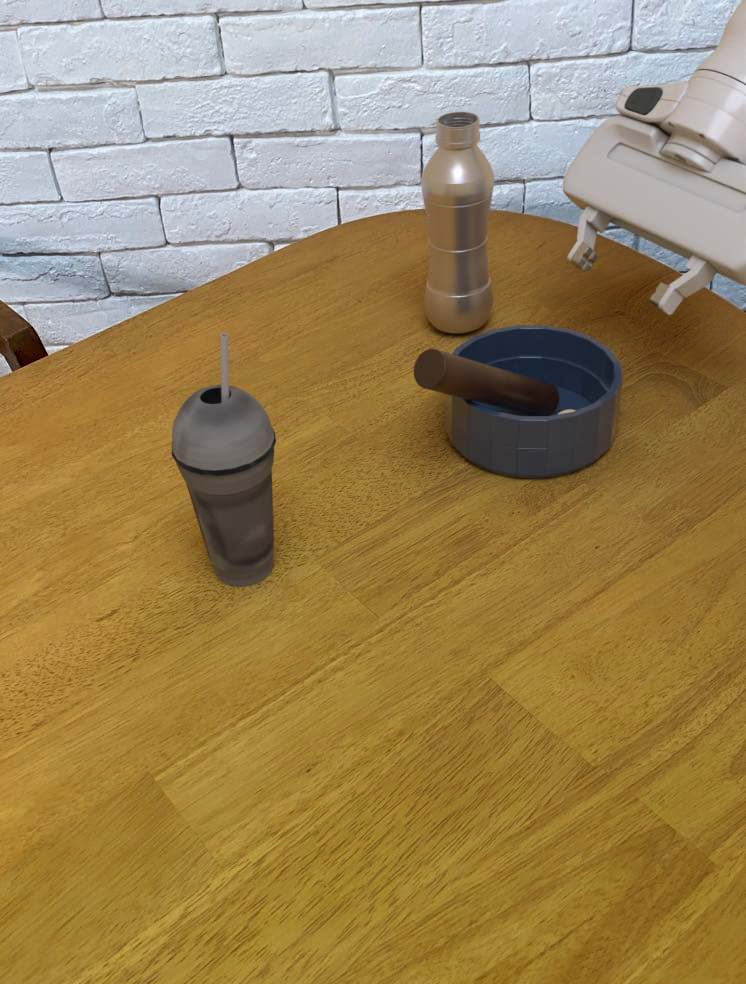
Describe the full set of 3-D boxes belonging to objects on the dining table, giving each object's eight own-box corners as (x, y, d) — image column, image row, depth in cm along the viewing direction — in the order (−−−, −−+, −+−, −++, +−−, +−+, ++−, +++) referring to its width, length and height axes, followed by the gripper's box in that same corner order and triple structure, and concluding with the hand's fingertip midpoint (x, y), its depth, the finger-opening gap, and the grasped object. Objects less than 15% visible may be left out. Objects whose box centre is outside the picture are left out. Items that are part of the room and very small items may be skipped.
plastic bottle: (506, 325, 109) (513, 119, 96) (451, 350, 106) (450, 141, 93) (464, 300, 113) (465, 99, 100) (410, 323, 110) (403, 119, 97)
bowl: (579, 372, 102) (584, 313, 98) (642, 464, 91) (650, 402, 87) (427, 398, 100) (426, 340, 97) (472, 495, 90) (473, 433, 86)
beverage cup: (202, 535, 88) (158, 309, 75) (294, 532, 88) (266, 304, 75) (189, 600, 83) (140, 368, 70) (288, 598, 82) (257, 364, 69)
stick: (548, 375, 96) (433, 340, 84) (565, 402, 94) (451, 370, 83) (523, 398, 97) (407, 367, 85) (540, 425, 96) (424, 397, 84)
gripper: (841, 196, 85) (730, 353, 88) (643, 121, 98) (551, 259, 101) (814, 155, 80) (697, 322, 83) (609, 82, 94) (515, 228, 96)
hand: (616, 287), depth 92 cm, fingers open, 8 cm apart
